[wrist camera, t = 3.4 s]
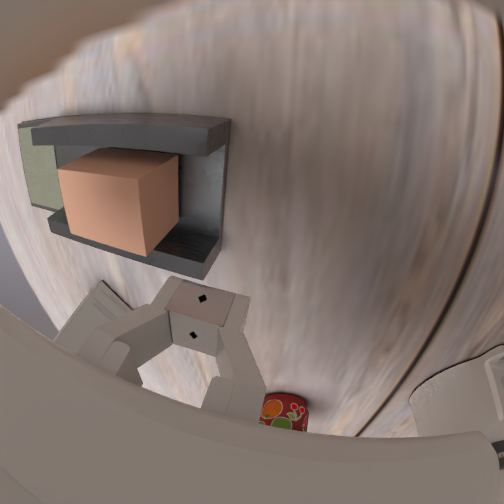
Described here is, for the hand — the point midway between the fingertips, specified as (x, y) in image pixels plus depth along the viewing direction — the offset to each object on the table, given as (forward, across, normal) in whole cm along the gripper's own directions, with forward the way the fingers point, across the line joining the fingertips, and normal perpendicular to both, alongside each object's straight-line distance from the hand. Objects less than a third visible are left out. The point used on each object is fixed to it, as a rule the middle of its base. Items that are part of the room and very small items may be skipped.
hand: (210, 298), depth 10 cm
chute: (+10, +14, +1) cm, 18 cm away
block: (+10, +9, 0) cm, 13 cm away
